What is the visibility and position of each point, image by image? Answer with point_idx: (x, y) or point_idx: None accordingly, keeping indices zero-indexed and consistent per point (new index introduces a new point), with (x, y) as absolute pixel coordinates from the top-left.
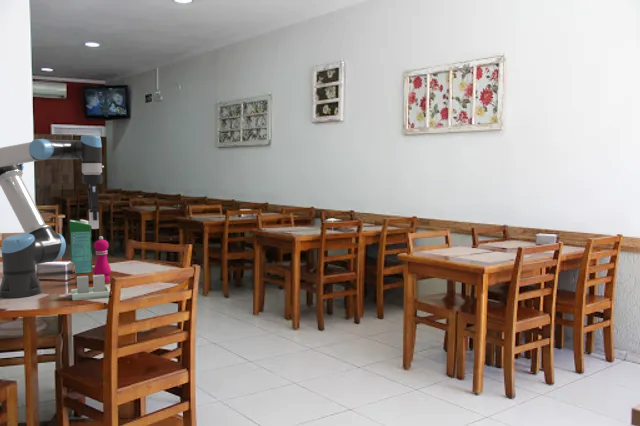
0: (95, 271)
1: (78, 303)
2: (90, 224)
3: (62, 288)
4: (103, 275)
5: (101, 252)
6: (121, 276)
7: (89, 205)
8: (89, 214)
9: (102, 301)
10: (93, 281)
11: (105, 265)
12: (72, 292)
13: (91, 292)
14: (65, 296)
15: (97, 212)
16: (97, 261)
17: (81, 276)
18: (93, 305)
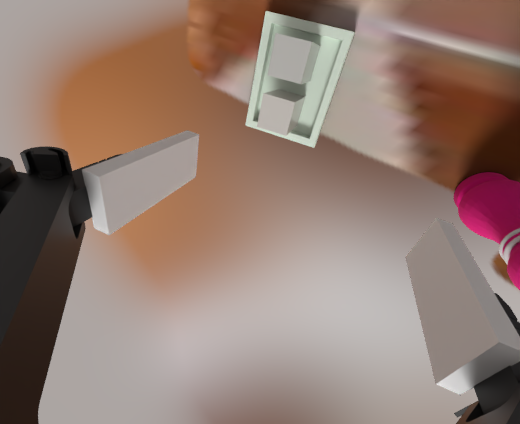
0: (497, 183)
1: (228, 21)
2: (434, 228)
3: (500, 32)
4: (268, 128)
5: (511, 240)
6: (493, 258)
7: (507, 413)
8: (469, 289)
9: (218, 86)
10: (284, 96)
11: (476, 220)
12: (299, 21)
13: (310, 91)
14: (344, 6)
15: (96, 219)
16: (518, 210)
17: (297, 58)
18: (190, 52)
